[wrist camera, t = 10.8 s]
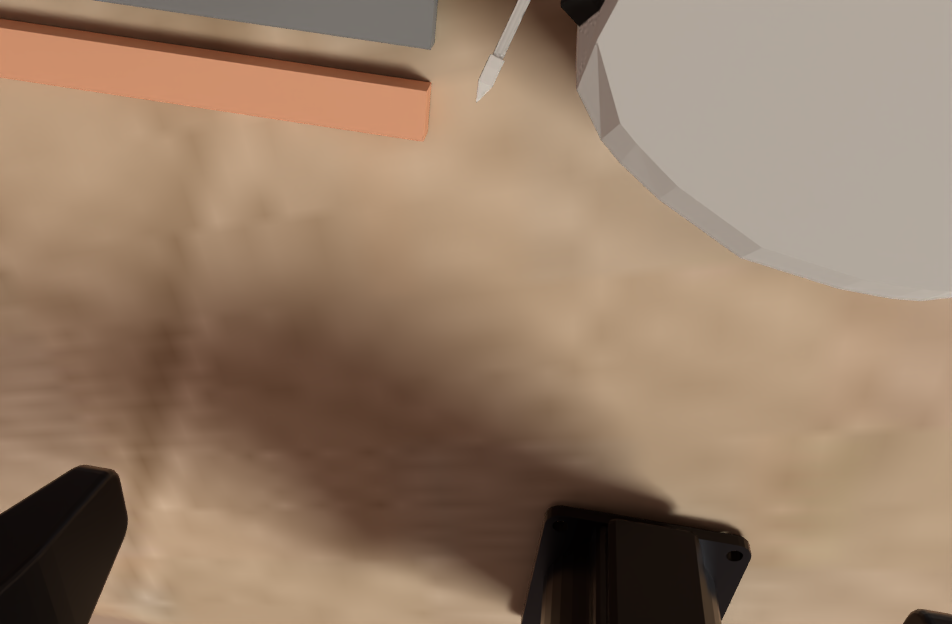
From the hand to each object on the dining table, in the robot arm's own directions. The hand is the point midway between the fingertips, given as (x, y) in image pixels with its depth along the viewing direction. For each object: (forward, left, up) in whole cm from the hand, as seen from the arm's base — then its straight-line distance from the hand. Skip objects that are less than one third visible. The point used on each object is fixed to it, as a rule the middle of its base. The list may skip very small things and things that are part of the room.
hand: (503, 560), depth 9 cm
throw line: (0, +13, -12) cm, 18 cm away
